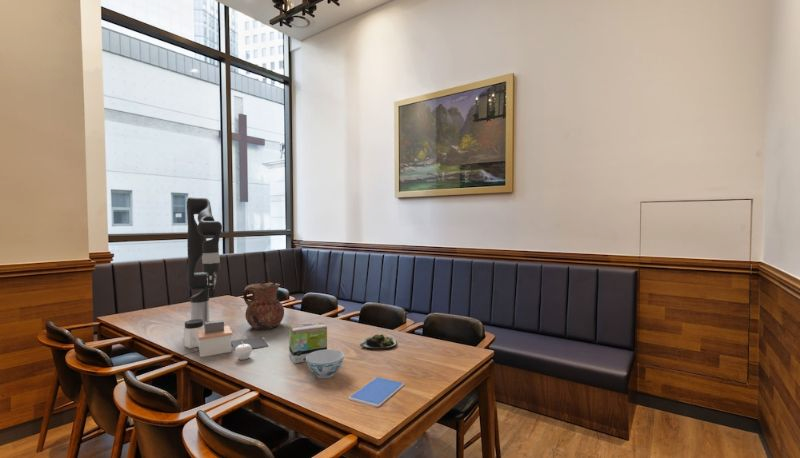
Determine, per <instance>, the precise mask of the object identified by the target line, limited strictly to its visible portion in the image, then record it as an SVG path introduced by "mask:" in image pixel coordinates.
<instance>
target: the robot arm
mask: <svg viewBox="0 0 800 458" xmlns="http://www.w3.org/2000/svg"><path fill="white" fill-rule="evenodd" d="M212 213H213V212H212V207H211V201H210V200H209V199H208V198H207V197H196V196H195V197H194V196H193V197H188V198H187V199H186V218H187V239H186V240H187V248H186V249H187V270H186V272H187V273H186V286H187V289H188V290H189V291H194V290H200V291H199V292H198V293H196V294H193V295H192V296H191V297H190V298H189V301H190V302H189V303H190V320H194V319H202V320H203V325H204V329H205V322H210V321H211V320H210V298H214V297H215V294H216V283H217V274H216V273H218V272H220V271H221V261H220V260H221V259H220V252H219V251H220V249H219V247H220V246H219V245H220V244H219V243H220V237H221V234H222V231H223V225H222V223H221V222H220V221H218V220H215V218H214V216H213V214H212ZM195 215H197V221H198V223H197V221H196V219H195V218H196V217H195ZM207 236H213V237H212V238H211V239H209V240H207ZM201 259H202V261H201ZM200 261H201V262H202V264H201V265H202V266H201V267H202V272H201V271H200V272H195V271H196V268H197V265H198V264H199V262H200Z"/></svg>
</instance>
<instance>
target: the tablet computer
mask: <svg viewBox="0 0 800 458" xmlns="http://www.w3.org/2000/svg"><path fill="white" fill-rule="evenodd" d="M404 386H405V383H404V382H401V381H397V380H392V379H387V378H383V377H379V376H377V377H375V378H373V379H372V380H370V381H369V382H368V383H366V384H365V385H364V386H362V387H361V388H359V389H358V390H357V391H355V392H354V393H352V394H351V395H350V396H349V397H348V400H350V401H353V402H357V403H360V404H364V405H367V406H372V407H376V408H377V407H380V406H382V405H383V404H384V403H385V402H386V401H387V400H388V399H390V397H392V396H393V395H394V394H395V393H397V392H398V391H399V390H400V389H402V388H403V387H404Z"/></svg>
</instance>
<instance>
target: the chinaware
mask: <svg viewBox="0 0 800 458" xmlns="http://www.w3.org/2000/svg"><path fill="white" fill-rule="evenodd" d="M344 359H345V354H344V352H343V351H341V350H338V349H329V348H327V349H326V350H318V351H315V352H312V353H310V354H308V355H307V356H306V361H305V362H306V364H307V367H308V368H309V370H310V371H311V372H312V373H313V374H315V375H316V377H317V378H319V379H330V378H333V376H334V374H335V373H336V372H337V371H338V370H340V368H341V366H342V365H343V361H344Z"/></svg>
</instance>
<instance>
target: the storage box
mask: <svg viewBox="0 0 800 458" xmlns="http://www.w3.org/2000/svg"><path fill="white" fill-rule="evenodd" d="M231 341H232V335H229V336H223V337H217V338H210V339H204V340H199V347H198V351H199V357H200V358H204V357H209V356H214V355H215V356H216V355H220V354H226V353H231V352H232V344H231Z"/></svg>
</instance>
